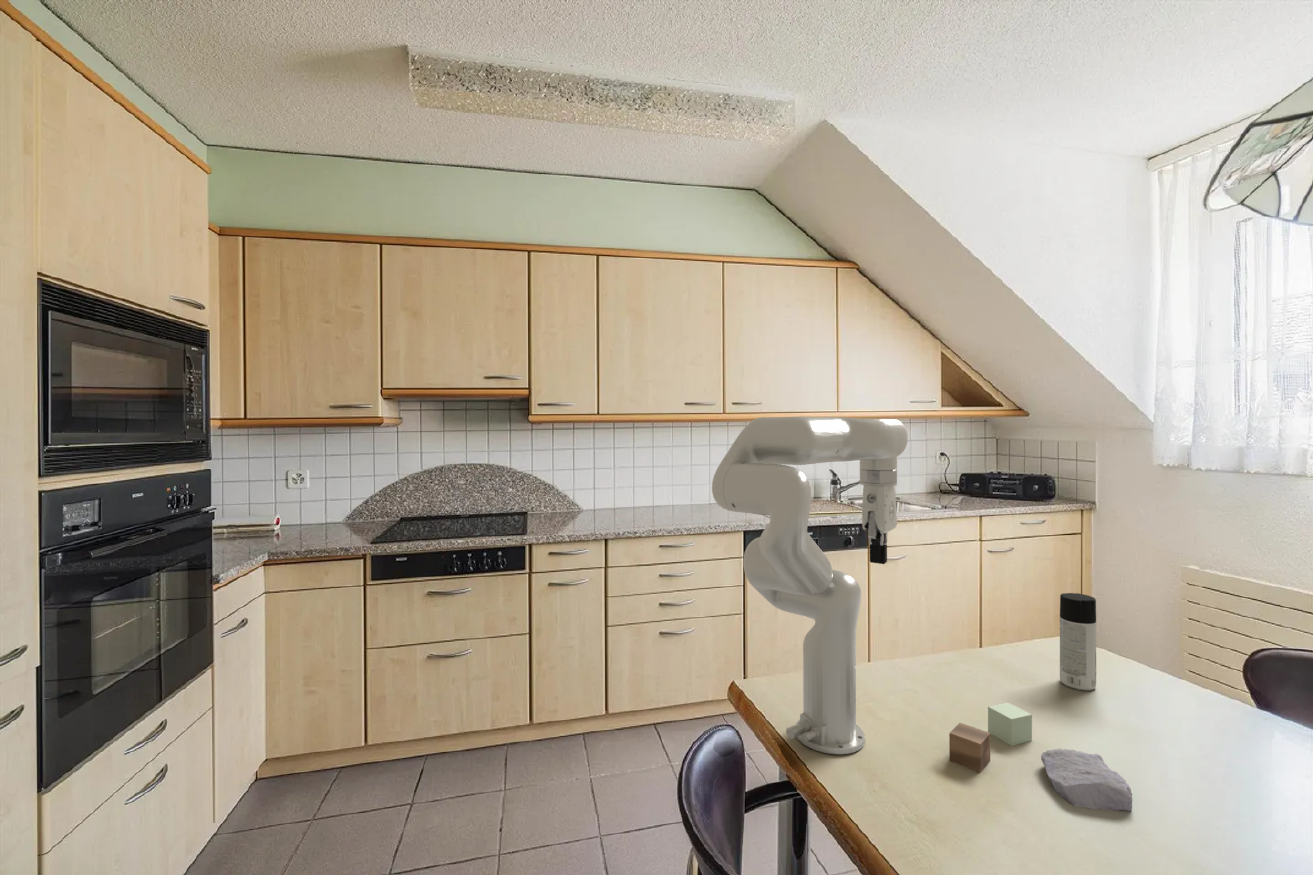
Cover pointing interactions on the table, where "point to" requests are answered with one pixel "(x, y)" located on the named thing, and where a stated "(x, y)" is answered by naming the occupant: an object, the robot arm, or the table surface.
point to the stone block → (1086, 780)
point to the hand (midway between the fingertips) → (878, 562)
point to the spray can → (1078, 641)
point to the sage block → (1010, 723)
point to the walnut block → (969, 747)
